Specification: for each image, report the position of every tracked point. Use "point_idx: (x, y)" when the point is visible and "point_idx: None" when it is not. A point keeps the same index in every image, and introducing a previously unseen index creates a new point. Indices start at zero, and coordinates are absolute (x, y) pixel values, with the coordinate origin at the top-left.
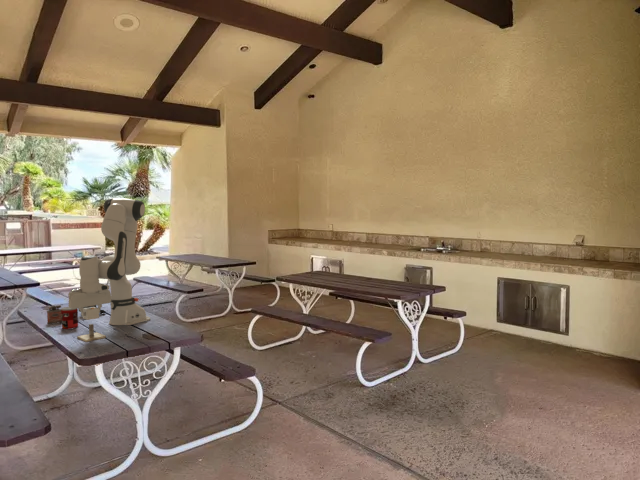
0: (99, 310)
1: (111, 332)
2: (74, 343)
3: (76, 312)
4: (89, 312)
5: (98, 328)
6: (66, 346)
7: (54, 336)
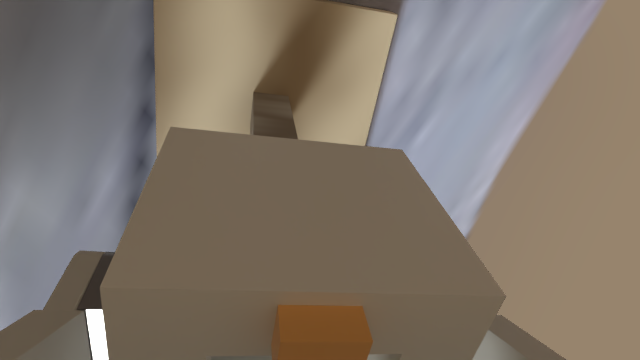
0: (63, 295)
1: (10, 128)
2: (473, 61)
3: None
4: (417, 234)
5: None
6: (572, 28)
7: None
